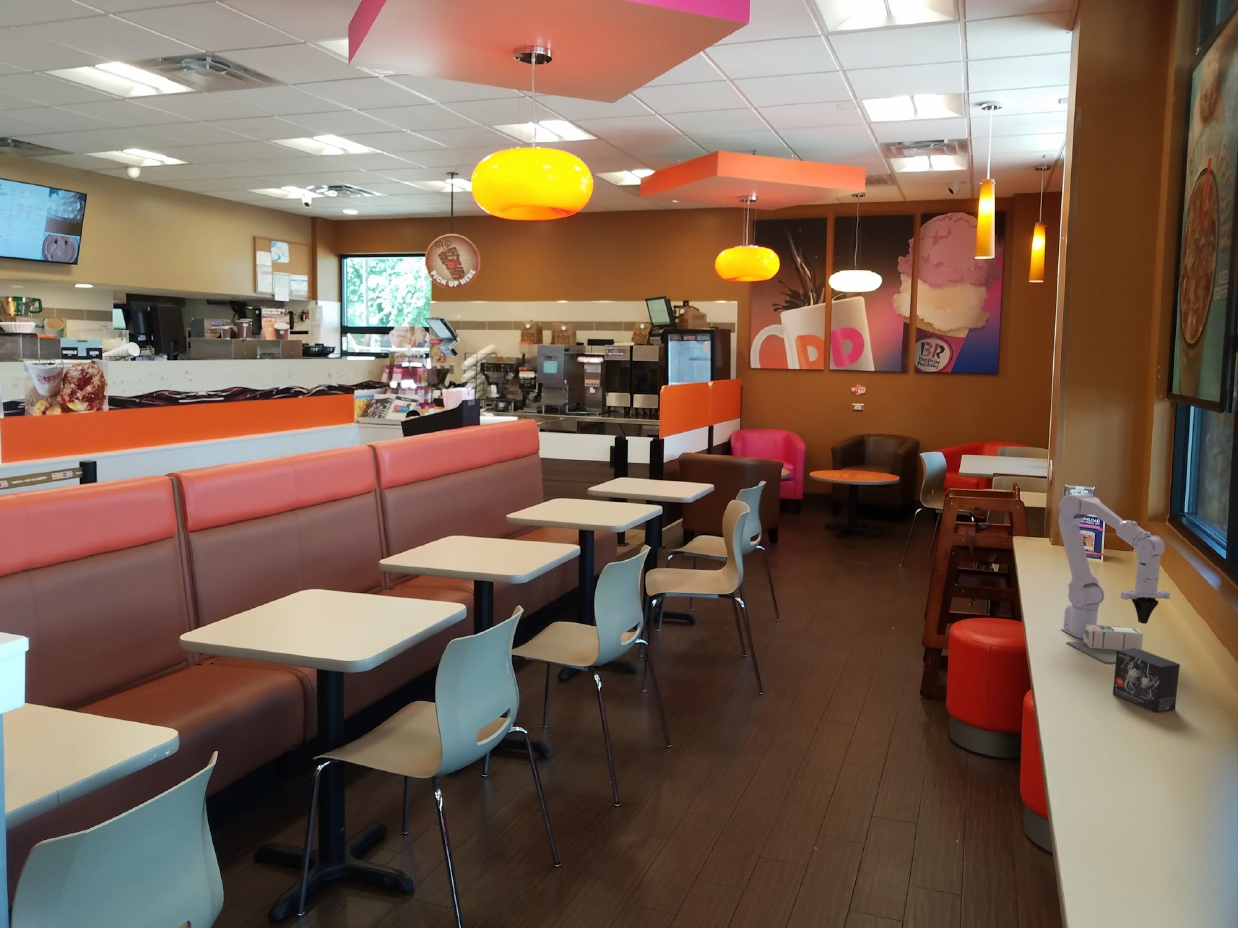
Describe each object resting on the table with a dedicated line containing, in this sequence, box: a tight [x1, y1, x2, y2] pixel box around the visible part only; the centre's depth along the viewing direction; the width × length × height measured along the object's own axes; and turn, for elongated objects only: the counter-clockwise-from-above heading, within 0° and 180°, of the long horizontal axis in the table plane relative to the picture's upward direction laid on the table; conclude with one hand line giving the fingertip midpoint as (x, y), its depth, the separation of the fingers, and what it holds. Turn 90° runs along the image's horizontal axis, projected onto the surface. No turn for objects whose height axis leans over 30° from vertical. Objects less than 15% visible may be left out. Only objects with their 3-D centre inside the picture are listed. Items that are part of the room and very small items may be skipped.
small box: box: [1112, 648, 1181, 714], centre depth 238 cm, size 13×7×12 cm, turn 21°
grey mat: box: [1065, 641, 1117, 664], centre depth 277 cm, size 18×16×1 cm
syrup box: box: [1082, 624, 1144, 650], centre depth 281 cm, size 6×6×14 cm
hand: (1142, 622), depth 278 cm, fingers closed
